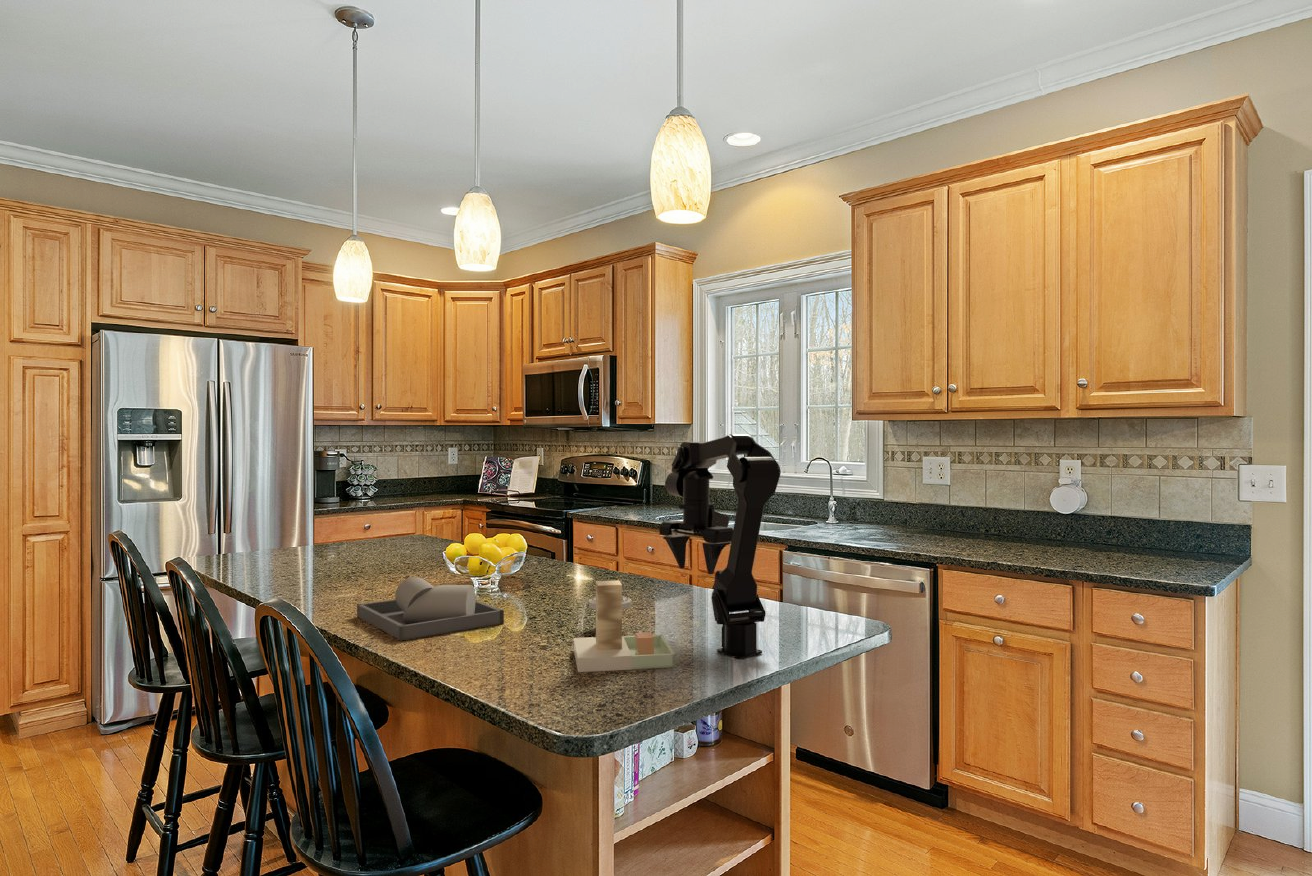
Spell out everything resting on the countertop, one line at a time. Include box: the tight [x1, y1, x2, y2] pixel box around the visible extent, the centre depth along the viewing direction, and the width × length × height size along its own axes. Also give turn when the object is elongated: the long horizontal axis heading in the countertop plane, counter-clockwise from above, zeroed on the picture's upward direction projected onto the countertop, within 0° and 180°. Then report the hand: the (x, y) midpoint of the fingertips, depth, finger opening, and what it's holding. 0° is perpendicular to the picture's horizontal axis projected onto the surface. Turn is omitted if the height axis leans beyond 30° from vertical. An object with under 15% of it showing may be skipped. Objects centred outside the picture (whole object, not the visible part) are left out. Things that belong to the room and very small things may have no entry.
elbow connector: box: [394, 576, 476, 623], centre depth 177 cm, size 18×11×20 cm
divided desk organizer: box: [356, 599, 505, 642], centre depth 176 cm, size 27×24×3 cm
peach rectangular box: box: [634, 631, 654, 655], centre depth 147 cm, size 4×4×3 cm
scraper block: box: [595, 579, 623, 650], centre depth 145 cm, size 4×4×12 cm
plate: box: [573, 635, 633, 673], centre depth 145 cm, size 10×14×2 cm
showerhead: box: [588, 595, 632, 611], centre depth 169 cm, size 9×7×10 cm
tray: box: [622, 634, 677, 671], centre depth 147 cm, size 8×14×2 cm, turn 9°
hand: (696, 571), depth 167 cm, fingers open, 9 cm apart
